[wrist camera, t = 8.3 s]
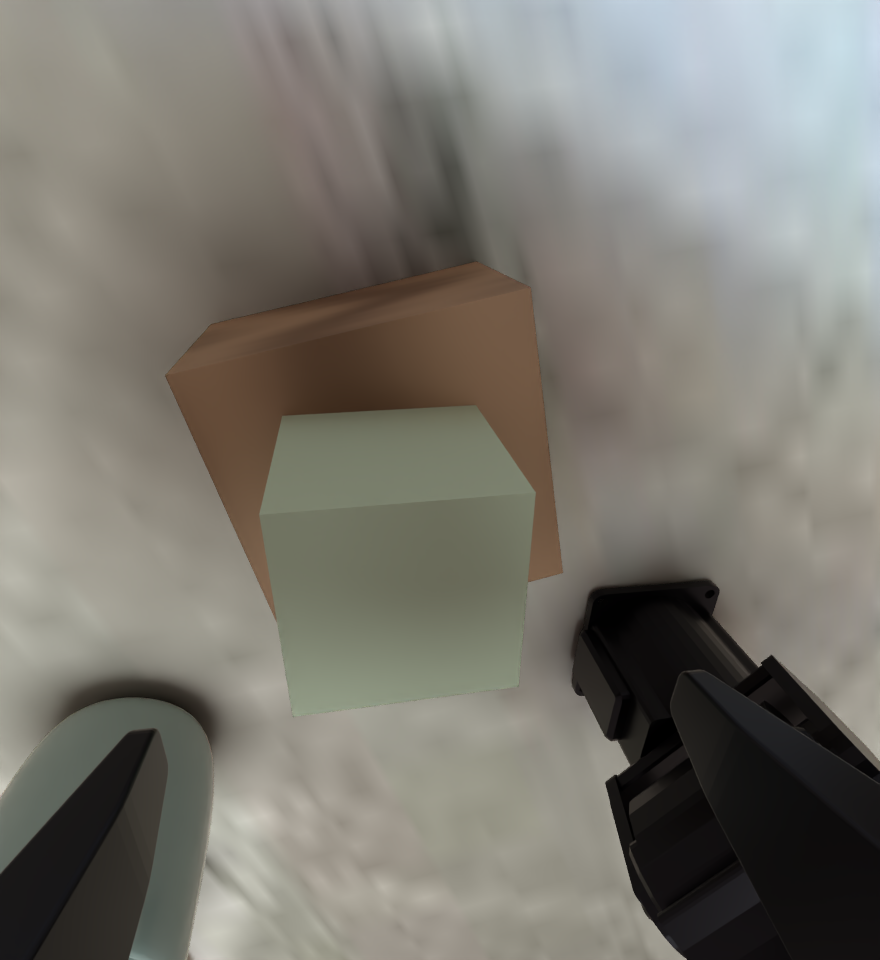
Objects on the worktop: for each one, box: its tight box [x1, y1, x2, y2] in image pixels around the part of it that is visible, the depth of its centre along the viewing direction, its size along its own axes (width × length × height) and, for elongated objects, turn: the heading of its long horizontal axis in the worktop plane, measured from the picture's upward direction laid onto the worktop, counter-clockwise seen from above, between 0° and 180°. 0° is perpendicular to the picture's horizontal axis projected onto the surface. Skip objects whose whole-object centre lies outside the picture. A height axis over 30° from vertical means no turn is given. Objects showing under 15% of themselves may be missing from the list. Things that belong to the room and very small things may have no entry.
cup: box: [0, 697, 214, 960], centre depth 21 cm, size 8×8×10 cm
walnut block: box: [165, 262, 563, 622], centre depth 18 cm, size 9×9×6 cm
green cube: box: [259, 405, 536, 717], centre depth 13 cm, size 5×5×5 cm
